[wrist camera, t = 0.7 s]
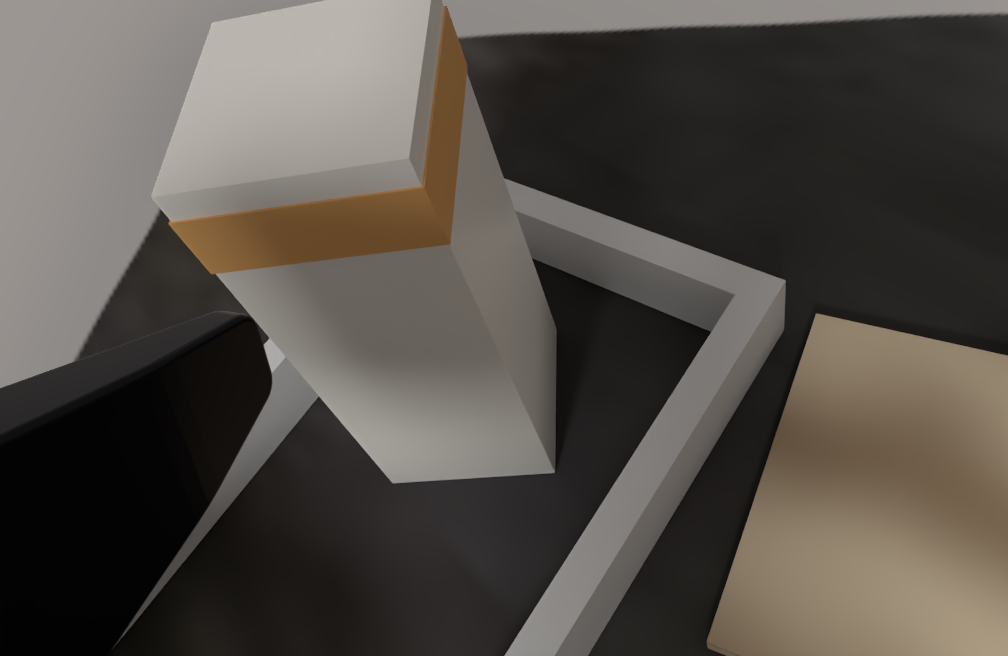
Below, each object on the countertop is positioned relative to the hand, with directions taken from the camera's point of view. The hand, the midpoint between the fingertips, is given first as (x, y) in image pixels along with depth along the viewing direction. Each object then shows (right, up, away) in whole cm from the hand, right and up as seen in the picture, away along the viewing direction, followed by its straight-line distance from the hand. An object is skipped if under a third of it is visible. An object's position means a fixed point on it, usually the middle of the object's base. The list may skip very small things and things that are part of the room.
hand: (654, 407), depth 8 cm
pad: (+10, -4, +13) cm, 17 cm away
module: (-2, -2, +19) cm, 19 cm away
